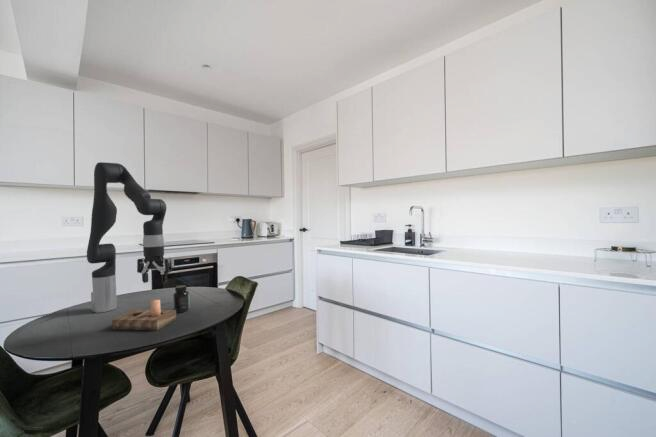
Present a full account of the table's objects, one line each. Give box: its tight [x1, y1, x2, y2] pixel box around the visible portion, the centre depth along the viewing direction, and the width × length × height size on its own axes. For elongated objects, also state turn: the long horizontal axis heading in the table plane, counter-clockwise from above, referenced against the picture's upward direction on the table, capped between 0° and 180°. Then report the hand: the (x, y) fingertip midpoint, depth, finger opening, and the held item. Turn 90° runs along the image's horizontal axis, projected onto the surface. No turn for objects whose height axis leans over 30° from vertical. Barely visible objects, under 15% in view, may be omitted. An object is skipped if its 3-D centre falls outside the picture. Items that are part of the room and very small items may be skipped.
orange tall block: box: [150, 299, 162, 317], centre depth 120 cm, size 4×4×9 cm
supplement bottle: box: [172, 284, 190, 314], centre depth 136 cm, size 7×7×12 cm
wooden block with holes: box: [112, 308, 177, 331], centre depth 121 cm, size 20×12×4 cm, turn 84°
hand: (155, 282), depth 120 cm, fingers open, 8 cm apart
